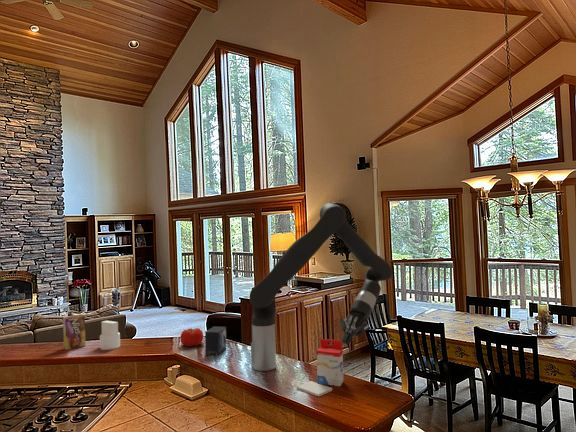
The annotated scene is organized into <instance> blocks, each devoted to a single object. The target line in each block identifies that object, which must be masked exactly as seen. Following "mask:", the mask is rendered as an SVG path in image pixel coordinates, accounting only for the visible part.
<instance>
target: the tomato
mask: <svg viewBox="0 0 576 432" xmlns="http://www.w3.org/2000/svg"><path fill="white" fill-rule="evenodd" d="M179 338H180V343H181V344H182V345H184V346H185V347H188V348H189V347H197V346H198V345H201V344H202V342H203V339H204V333H203V330H202V329H200V328H199V327H198V328H197V327H196V328H188V329H184V330H183V331H182V332H181V333H180V337H179Z"/></svg>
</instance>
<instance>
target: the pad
mask: <svg viewBox="0 0 576 432" xmlns="http://www.w3.org/2000/svg"><path fill="white" fill-rule="evenodd" d="M296 389H297V390H299V391H301V392H305V393H307V394H310V395H312V396H315V397H317V396H318V397H321V396H323V395H325V394H328V393H330V392H332V391H333V387H329V386H327V385H325V384H318V383H317V382H316V381H312V380H309V381H307V382H305V383H302V384H300V385H297V386H296Z"/></svg>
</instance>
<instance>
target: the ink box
mask: <svg viewBox="0 0 576 432" xmlns="http://www.w3.org/2000/svg"><path fill="white" fill-rule="evenodd" d="M319 341H320V347H319V348H318V349H317V350H316V372H317V373H316V381H317V382H316V383H319V384H321V385H324V386H327V385H328V386H333V385H334V386H335V387H341V386H342V384H343V383H344V358H343V357H344V350H343V342H342V339H341V340H337V339H327V338H320V340H319ZM329 343H332V344H329Z"/></svg>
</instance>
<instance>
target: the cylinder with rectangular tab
mask: <svg viewBox="0 0 576 432" xmlns="http://www.w3.org/2000/svg"><path fill="white" fill-rule="evenodd" d="M119 347H121V333H120V332H119V322H118V321H112V320H103V321H101V334H100V335H99V349H100V350H103V351H105V350H108V351H109V350H116V349H118V348H119Z"/></svg>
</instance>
